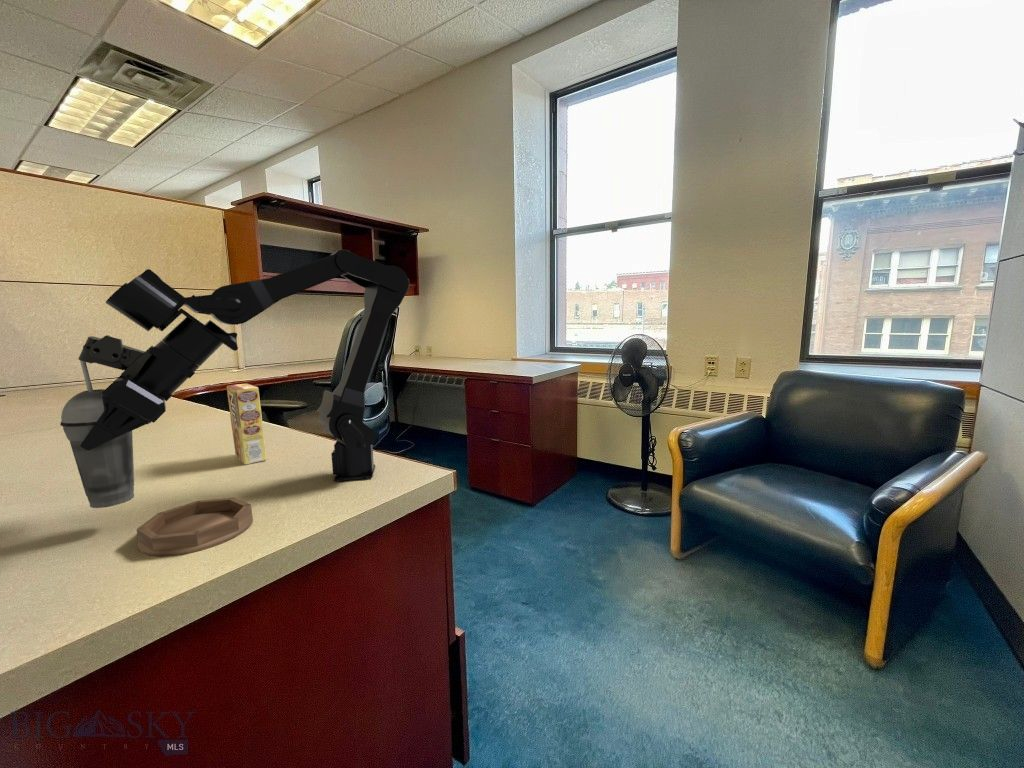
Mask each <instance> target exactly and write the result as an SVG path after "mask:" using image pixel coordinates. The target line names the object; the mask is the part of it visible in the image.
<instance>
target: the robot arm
mask: <svg viewBox="0 0 1024 768" xmlns="http://www.w3.org/2000/svg"><path fill="white" fill-rule="evenodd" d="M338 277H343V278H345V279H346V280H347V281H350V282H351V283H352V284H355V285H357V286H358V287H361V288H363V289H364V291H363V292H364V294H363V301H364V311H363V312H364V313H363V315H362V317H361V320H360V323H359V326H358V329H357V332H356V335H355V338H354V341H353V343H352V347H351V348H350V353H349V355H348V358H347V361H346V363H345V367H344V369H343V373H342V375H341V377H340V381H339V383H338V385H337V386H336V387H335V388H334V390H333V391H332V392H331V391H329V390H327V389H325V390H324V391H323V393H322V394H323V395H322V400H321V404H320V406H319V407H318V408H317V410H316V412H317V413H319V416H318V421H319V424H320V426H321V427H322V429H324V430H325V431H326V432H328V434H330V435H331V437H332V438H333V440H336V442H334V445H333V450H332V452H331V455H330V456H331V465H332V466H331V468H332V475H333V476H334V481H335V482H340V481H341V482H343V481H353V480H363V479H364V478H366V479H372V478H373V477H374V474H373V473H375V471H376V470H375V469H376V464H374V449H373V448H374V447H373V445H374V444H375V442H376V438H377V435H378V434H377V432H376V431H375V430H373V428H371V427H370V426H368V425H367V424H366V423H364V419H365V418H364V417H365V411H366V398H365V397H366V396H365V392H366V388H367V384H368V382H369V379H370V375H371V373H372V369H373V367H374V364H375V362H376V358H377V355H378V352H379V349H380V346H381V344H382V341H383V338H384V334H385V332H386V329H387V326H388V323H389V321H390V318H391V316H392V315H393V314H394V313H395V312H396V310H397V309H398V308H399V306H400V305H401V304H402V303H403V300H404V298H405V296H406V295H407V292H408V291H409V289H410V279H409V277H408V275H407V273H406V272H405V271H404V269H402V268H401V267H400V266H398V265H386V264H384V263H382V262H379V261H376V260H373V259H370V258H367V257H364V256H361V255H358V254H356V253H354V252H352V251H350V250H349V249H339V250H336V251H334V252H333V253H331V254H330V255H327V256H325V257H322V258H320V259H317V260H315V261H311V262H309V263H306V264H303V265H301V266H298V267H295V268H293V269H290V270H287V271H284V272H282V273H278V274H277V275H274V276H271V277H267V278H262V279H255V280H249V281H243V282H239V283H238V282H237V283H233V284H227V285H223V286H220V287H218V288H216V289H215V290H214V291H212V293H211V294H207V295H195V294H192V295H191V296H189V297H188V296H186V297H185V296H184V295H182V293H180V292H179V291H177V290H176V289H174V288H173V287H172V286H171V285H169V284H168V283H167V282H165V281H164V280H162V278H161V277H160V276H159V275H158V274H157V273H155V272H154V271H153V270H152V269H150V268H146V270H144V271H143V272H142V273H141V274H139V275H137V276H135V278H133V279H132V280H131V281H129V282H128V283H127V282H125V283H123V284H122V285H121V286H120V287H119V288H118V289H117V290H115V292H113V293H112V294H111V295H110V296H109V297H108V298H107V299H106V301H105V304H106V305H108V306H109V307H111V308H112V309H114V310H116V312H118V313H119V314H122V315H123V316H125V317H126V318H127V319H128V320H131V321H132V322H133V323H135V324H136V325H137V326H139V327H141V328H142V329H143V330H146V332H150V330H152V329H154V328H155V329H157V330H159V331H160V332H163V331H164V330H166V328H168V327H169V326H170V325H171V324H172V323H174V321H176V320H177V319H178V318H179V317H180V316H181V315H183V316H184V319H183V320H182V321H181V322H179V323H178V324H177V325H176V326H175V327H174V328H173V329H172V330H171V331H169V332H168V333H167V334H166V335H165V336H164V337H163V338H162V339H161V340H160V341H159V342H157V344H155V346H154V345H151V346H150V347H149V348H147V349H146V350H145V351H144V350H142V349H138V348H134V347H131V346H128V345H124V344H123V341H122V339H121V338H116V337H113V336H110V335H105V336H103V337H101V338H100V337H97V336H88V337H87V339H86V341H85V343H84V345H83V346H82V350H81V352H80V354H79V356H78V358H77V360H78V361H80V360H81V361H84V362H86V364H87V363H88V364H98V365H102V366H105V367H110V368H113V369H116V370H121V371H123V372H121V374H120V375H119V376H118V377H117V378H116V379H114V381H112V383H110V384H109V385H108V386H107V387H106V388H105V390H104V391H103V392H102V394H101V399H102V401H103V405H104V412H103V413H102V415H101V416H100V417H99V419H98V420H97V422H96V423H95V425H94V426H93V427H92V429H91V430H90V432H89V433H88V434H87V436H86V437H85V439H84V440H83V442H82V443H81V444H80V447H81V448H83V449H86V450H91V449H93V448H95V447H98V446H100V445H102V444H104V443H106V442H108V441H110V440H113V439H115V438H117V437H119V436H121V435H124V434H126V433H128V432H130V431H132V432H133V431H134V430H137V429H139V428H141V427H144V426H145V425H149V424H151V423H153V424H154V423H155V422H157V420H158V419H159V418H160V417H161V416H163V415H164V413H165V412H166V410H167V406H166V402H167V401H169V399H170V398H172V396H173V394H174V393H175V392H176V391H177V389H179V388H180V387H181V386H182V385H183V384H184V383H185V382H186V381H187V380H188V379H191V378H192V377H193V375H195V373H196V371H197V370H198V369H199V368H200V367H201V366H202V365H203V364H204V363H206V361H207V360H208V359H209V358H210V357H211V356H212V355H213V354H214V353H215V352H216V351H217V350H219V348H220V347H221V346H222V345H225V346H226V347H227V348H229V349H230V350H232V351H234V352H236V351H237V350H238V349H239V347H238V342H237V337H238V333H237V332H234V331H233V332H227V331H226V330H225V329H223V328H221V327H220V326H219V325H217V324H216V323H215V322H213V321H212V319H211V320H210V319H209V320H208V321H207V322H206V323H202V322H201V321H200V320H198V319H197V318H195V317H194V316H193V315H191V314H190V313H188V312H187V311H186V310H185V309H183V308H182V307H186V308H187V309H189V310H190V311H191V312H193V313H195V314H202V315H206V316H211V317H212V318H213V319H214V320H215V321H217V322H218V323H220V324H224V325H229V326H232V325H233V326H234V325H238V326H239V325H241V324H245V323H247V322H248V321H251V320H252V319H253V318H255V317H256V316H258V315H260V314H261V313H263V312H265V311H266V310H267V309H269V308H271V307H272V306H273V305H275V304H276V303H278V302H279V301H281V300H283V299H286V298H288V297H290V296H291V297H292V296H293V295H296V294H298V293H300V292H303V291H306V290H308V289H311V288H313V287H315V286H318V285H320V284H324V283H326V282H328V281H330V280H334V279H335V278H338ZM371 477H372V478H371ZM364 480H365V479H364Z"/></svg>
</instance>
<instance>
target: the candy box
mask: <svg viewBox="0 0 1024 768" xmlns="http://www.w3.org/2000/svg"><path fill="white" fill-rule="evenodd" d="M226 392H227V393H226V394H227V402H228V408H229V416H230V423H231V432H232V438H233V440H232V441H233V445H234V455H235V456H236V458H238V459H239V460H240V462H242V463H243V464H244V465H250V464H255V463H258V462H259V463H261V462H264V461H267V454H266V452H267V451H266V445H265V444H266V443H265V434H264V424H263V417H262V407H261V400H260V399H261V398H260V389H259V387H258V386H255V385H252V384H250V383H241V384H240V383H239V384H231V385H230V384H229V385H227V386H226Z"/></svg>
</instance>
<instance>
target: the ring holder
mask: <svg viewBox="0 0 1024 768" xmlns="http://www.w3.org/2000/svg"><path fill="white" fill-rule="evenodd" d="M252 510H253V509H252V503H249V502H246V501H244V500H242V499H240V498H237V497H226V498H225V497H223V498H212V499H211V498H210V499H202V500H201V499H200V500H195V501H192V502H190V503H187V504H183V505H178V506H176V507H173V508H169V509H167V510H163V511H161V512H158V513H156V514H155V515H154V516H152V517H150V519H147V521H146V522H144V523H142V524H141V525H139V526H138V528H136V534H137V547H138V550H139V551H140V552H141V553H142V554H145V555H147V556H152V557H153V556H154V557H169V556H180V555H184V554H191V553H194V552H199V551H203V550H206V549H209V548H212V547H216V546H218V545H221V544H223V543H226V542H228V541H231V540H232V539H235V538H236V537H238V536H240V535H241V534H243V533H245V531H247V530H248V529H249V528H250V527H251V526H252V524H253V522H254V515H253V511H252Z"/></svg>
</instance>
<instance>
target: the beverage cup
mask: <svg viewBox="0 0 1024 768" xmlns="http://www.w3.org/2000/svg"><path fill="white" fill-rule="evenodd" d="M79 362H80V366H81V369H82V373H83V374H82V375H83V378H84V381H85V382H84V383H85V386H86V390H84V391H81V392H79V393H77V394H75V395H74V396H72V397H70V399H69V400H67V402H66V403H65V405H64V406H63V408H62V411H61V417H60V418H61V419H60V420H61V421H60V427H62V429H63V432H64V434H65V437H66V439H67V440H68V441H69V444H70V446H71V447H70V448H71V450H72V453H73V457H74V461H75V464H76V467H77V470H78V473H79V474H78V475H79V477H80V480H81V483H82V487H83V490H84V493H85V496H86V498H87V501H88V503H89V508H92V509H103V508H108V507H115V506H118V505H122V504H125V503H126V502H129V501H132V500H133V499H134V497H135V493H134V491H135V490H134V489H135V469H134V468H135V467H134V466H135V465H134V446H133V441H134V440H133V430H132V431H130V432H128V433H126V434H124V435H121V436H119V437H117V438H115V439H113V440H110V441H108V442H106V443H104V444H102V445H100V446H98V447H95V448H93V449H91V450H86V449H83V448H81V447H80V444H81V443H82V442H83V440H84V439H85V437H86V436H87V434H88V433H89V432H90V430H91V429H92V427H93V426H94V425H95V423H96V422H97V420H98V419H99V417H100V416H101V415H102V413H103V412H104V405H103V401H102V399H101V394H102V392H103V391H104V390H105V389H106V388H105V389H104V388H102V389H101V388H99V389H94V388H93V385H92V381H91V376H90V374H89V370H88V366H87V362H84V361H81V360H79Z"/></svg>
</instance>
